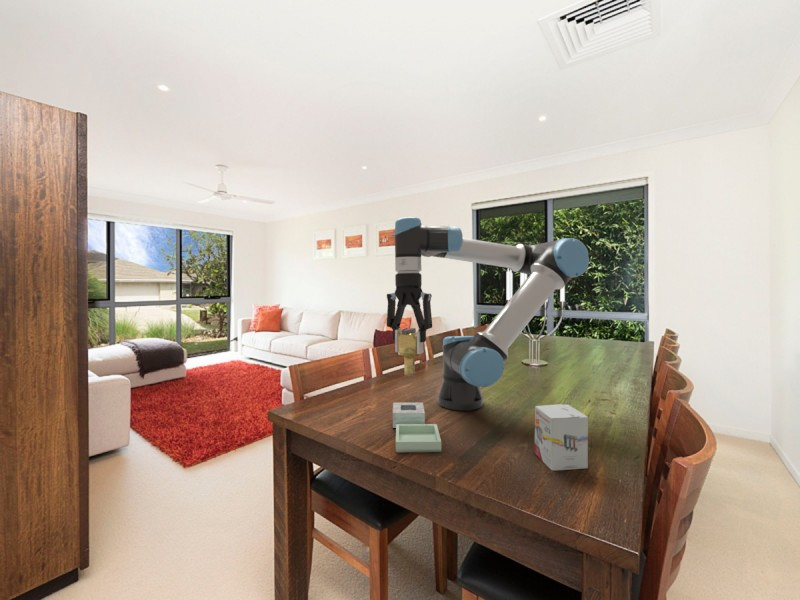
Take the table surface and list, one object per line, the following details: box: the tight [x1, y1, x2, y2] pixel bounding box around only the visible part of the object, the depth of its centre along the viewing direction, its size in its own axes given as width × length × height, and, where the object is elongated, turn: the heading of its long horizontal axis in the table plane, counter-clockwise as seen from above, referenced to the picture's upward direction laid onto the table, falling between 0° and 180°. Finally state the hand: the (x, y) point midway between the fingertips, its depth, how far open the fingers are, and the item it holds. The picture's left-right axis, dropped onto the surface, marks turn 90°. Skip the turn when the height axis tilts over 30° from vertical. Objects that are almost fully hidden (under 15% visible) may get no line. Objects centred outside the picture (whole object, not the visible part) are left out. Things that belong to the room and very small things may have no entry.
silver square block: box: [392, 402, 426, 429], centre depth 105 cm, size 9×9×4 cm
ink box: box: [534, 403, 589, 472], centre depth 82 cm, size 9×9×12 cm
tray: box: [395, 423, 442, 453], centre depth 92 cm, size 11×11×2 cm
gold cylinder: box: [397, 327, 421, 377], centre depth 104 cm, size 6×6×13 cm
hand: (409, 352), depth 104 cm, fingers closed on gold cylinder, 6 cm apart
